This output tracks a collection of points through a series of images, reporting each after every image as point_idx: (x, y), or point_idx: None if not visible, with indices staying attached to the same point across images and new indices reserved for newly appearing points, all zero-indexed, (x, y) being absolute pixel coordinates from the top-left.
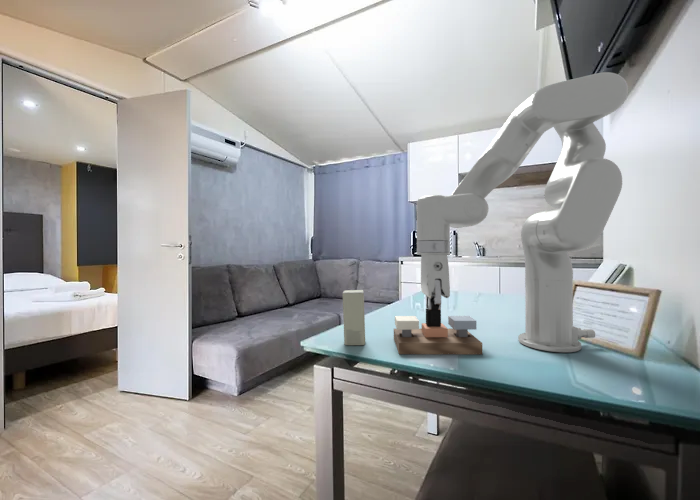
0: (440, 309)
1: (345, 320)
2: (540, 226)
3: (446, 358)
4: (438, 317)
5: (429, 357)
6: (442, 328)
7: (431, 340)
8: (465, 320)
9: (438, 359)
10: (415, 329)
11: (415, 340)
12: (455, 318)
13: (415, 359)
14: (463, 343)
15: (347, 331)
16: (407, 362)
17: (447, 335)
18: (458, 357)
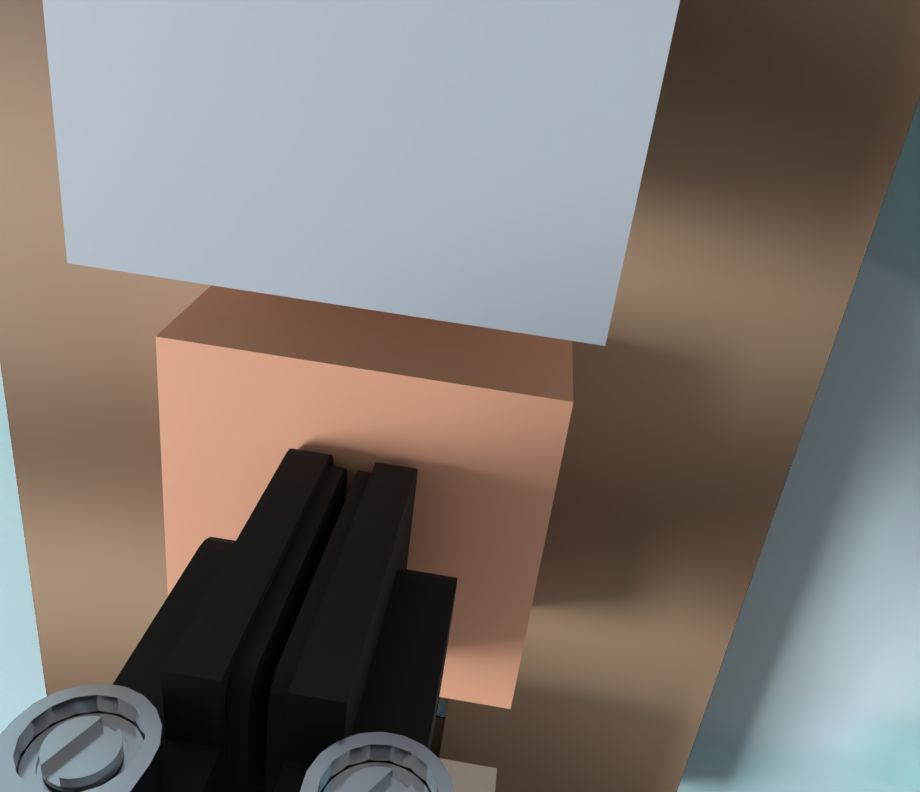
0: (442, 772)
1: None
2: None
3: (890, 423)
4: (382, 610)
5: (798, 574)
6: (547, 482)
7: (634, 578)
8: (640, 28)
9: (889, 514)
10: None
11: (589, 733)
12: (362, 204)
13: (811, 703)
14: (881, 187)
15: None
16: (863, 780)
17: (569, 349)
18: (910, 270)
